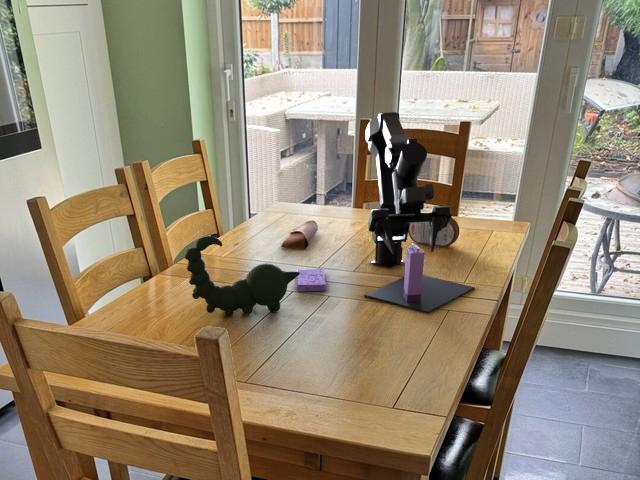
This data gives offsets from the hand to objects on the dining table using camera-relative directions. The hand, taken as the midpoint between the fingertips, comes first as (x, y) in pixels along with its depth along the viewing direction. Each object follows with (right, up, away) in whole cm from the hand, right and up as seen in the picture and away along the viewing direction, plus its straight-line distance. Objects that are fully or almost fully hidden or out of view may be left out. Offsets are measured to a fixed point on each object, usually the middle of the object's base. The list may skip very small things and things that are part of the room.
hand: (413, 252), depth 166 cm
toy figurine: (-39, -14, +1) cm, 41 cm away
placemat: (+3, -7, +9) cm, 12 cm away
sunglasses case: (-25, +19, +48) cm, 57 cm away
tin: (+13, +15, +42) cm, 46 cm away
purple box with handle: (0, -10, +4) cm, 11 cm away
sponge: (-23, -3, +17) cm, 28 cm away
